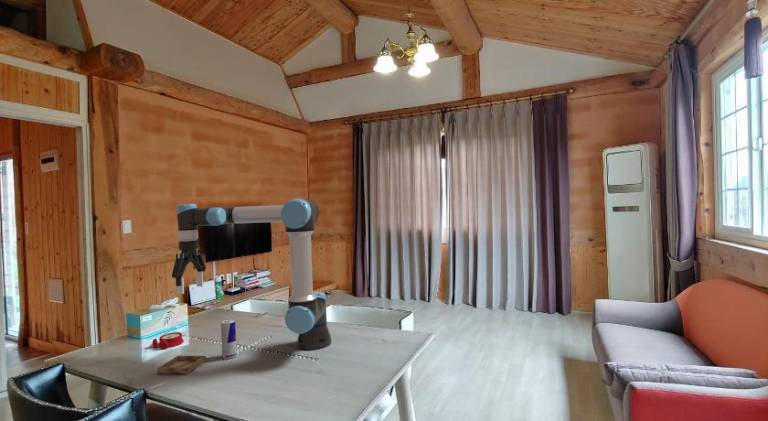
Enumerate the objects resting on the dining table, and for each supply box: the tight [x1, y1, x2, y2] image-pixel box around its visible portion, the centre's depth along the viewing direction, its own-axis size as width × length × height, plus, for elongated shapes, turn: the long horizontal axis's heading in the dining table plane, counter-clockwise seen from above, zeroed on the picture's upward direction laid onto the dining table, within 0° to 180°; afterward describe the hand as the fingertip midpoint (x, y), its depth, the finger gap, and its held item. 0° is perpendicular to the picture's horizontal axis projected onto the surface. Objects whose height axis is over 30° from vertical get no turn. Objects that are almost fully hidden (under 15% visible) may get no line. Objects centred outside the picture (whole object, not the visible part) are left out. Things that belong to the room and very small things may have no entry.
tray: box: [157, 355, 207, 376], centre depth 149 cm, size 12×12×2 cm
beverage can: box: [220, 319, 238, 360], centre depth 159 cm, size 6×6×15 cm
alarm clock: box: [149, 331, 186, 350], centre depth 176 cm, size 10×6×15 cm
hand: (190, 290), depth 162 cm, fingers open, 13 cm apart
